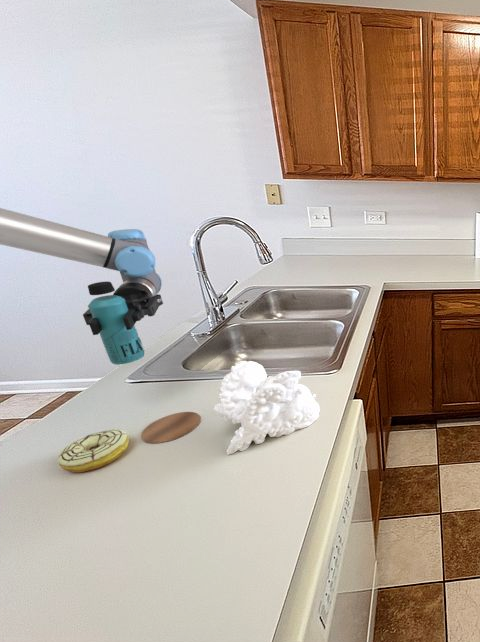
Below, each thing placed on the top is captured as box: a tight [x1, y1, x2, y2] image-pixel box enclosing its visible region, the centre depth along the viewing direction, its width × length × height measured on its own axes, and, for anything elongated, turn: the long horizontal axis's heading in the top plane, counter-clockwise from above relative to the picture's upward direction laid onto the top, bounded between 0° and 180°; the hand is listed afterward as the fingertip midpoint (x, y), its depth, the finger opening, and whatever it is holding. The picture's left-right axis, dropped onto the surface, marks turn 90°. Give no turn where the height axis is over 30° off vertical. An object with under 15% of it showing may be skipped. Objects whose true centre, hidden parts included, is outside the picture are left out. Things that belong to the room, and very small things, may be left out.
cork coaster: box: [140, 411, 202, 445], centre depth 90 cm, size 11×11×1 cm
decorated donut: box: [56, 429, 130, 473], centre depth 81 cm, size 10×11×4 cm
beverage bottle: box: [87, 280, 146, 366], centre depth 90 cm, size 6×7×20 cm
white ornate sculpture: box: [212, 360, 321, 456], centre depth 88 cm, size 19×20×20 cm
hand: (110, 326), depth 85 cm, fingers closed on beverage bottle, 5 cm apart
